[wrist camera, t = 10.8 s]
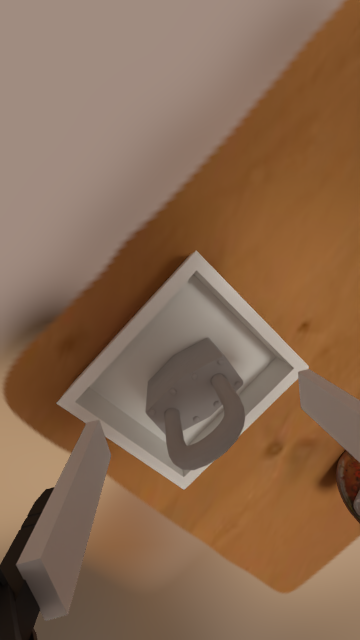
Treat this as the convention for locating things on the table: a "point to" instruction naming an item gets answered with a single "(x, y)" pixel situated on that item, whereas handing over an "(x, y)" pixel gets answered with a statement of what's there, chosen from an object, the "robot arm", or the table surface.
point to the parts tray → (167, 340)
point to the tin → (349, 483)
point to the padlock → (196, 403)
